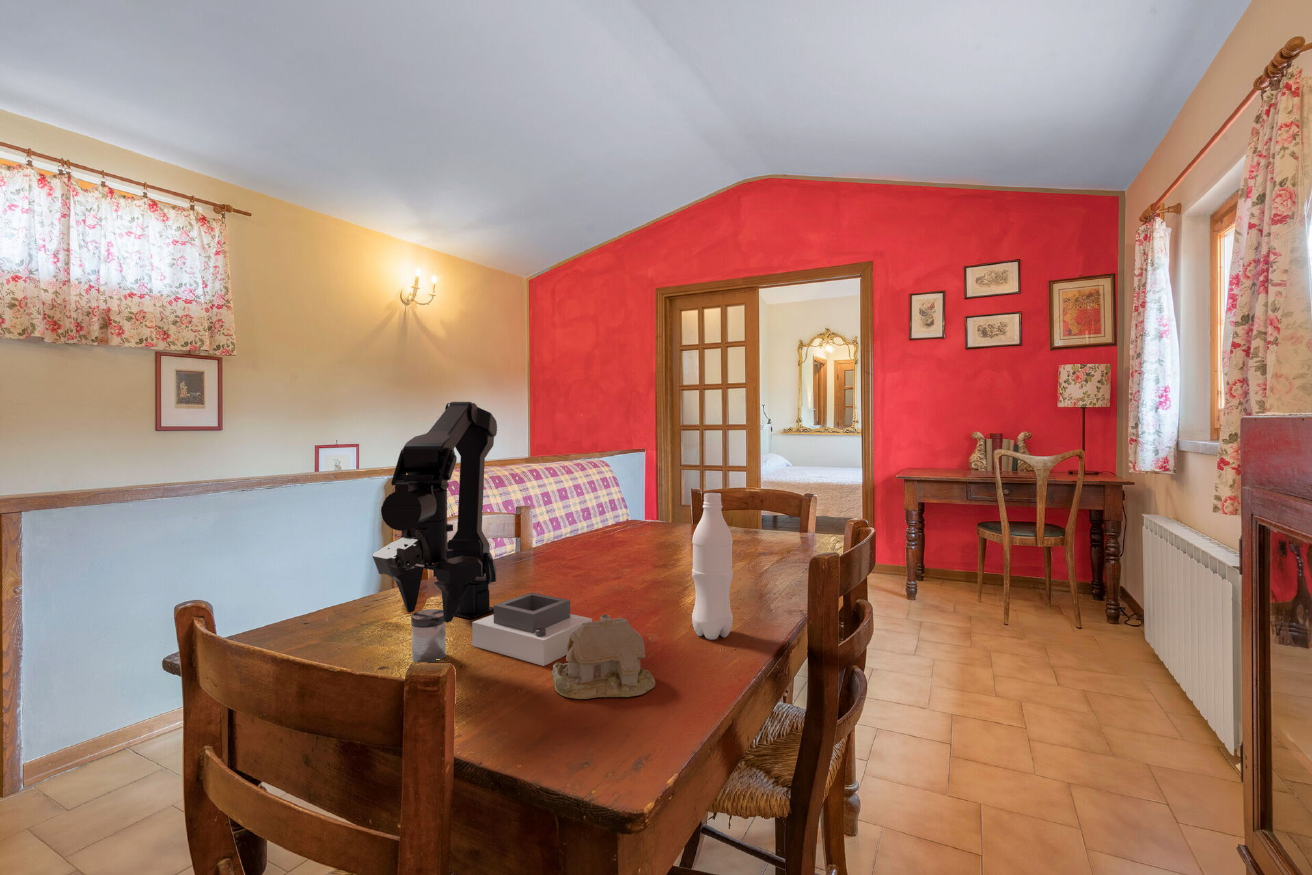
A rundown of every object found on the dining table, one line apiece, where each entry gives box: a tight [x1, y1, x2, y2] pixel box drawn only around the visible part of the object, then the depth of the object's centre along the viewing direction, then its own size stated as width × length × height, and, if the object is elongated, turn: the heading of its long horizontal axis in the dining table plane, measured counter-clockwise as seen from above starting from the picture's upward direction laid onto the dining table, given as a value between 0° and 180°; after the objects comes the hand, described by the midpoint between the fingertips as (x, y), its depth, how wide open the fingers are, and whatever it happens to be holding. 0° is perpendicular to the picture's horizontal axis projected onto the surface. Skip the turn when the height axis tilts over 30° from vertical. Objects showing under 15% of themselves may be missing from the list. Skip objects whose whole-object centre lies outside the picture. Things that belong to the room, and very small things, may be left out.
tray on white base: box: [471, 592, 593, 667], centre depth 100 cm, size 16×12×7 cm
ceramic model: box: [551, 613, 656, 700], centre depth 84 cm, size 14×11×10 cm
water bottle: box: [691, 492, 734, 641], centre depth 104 cm, size 7×7×25 cm
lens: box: [410, 608, 447, 663], centre depth 94 cm, size 5×5×7 cm
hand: (429, 616), depth 94 cm, fingers open, 9 cm apart
